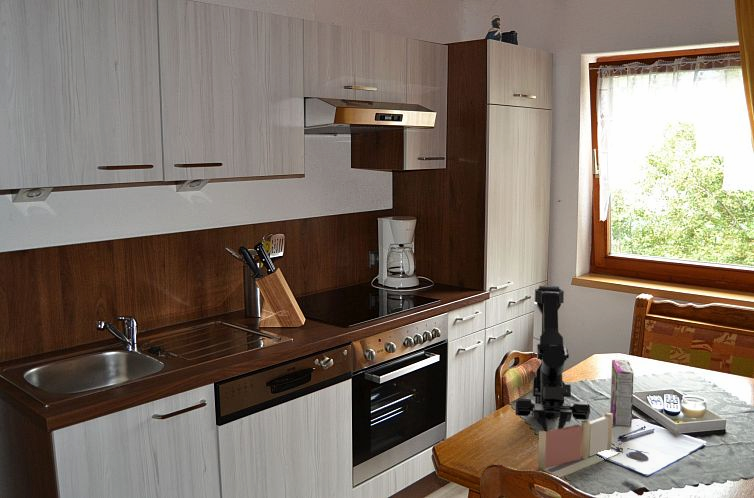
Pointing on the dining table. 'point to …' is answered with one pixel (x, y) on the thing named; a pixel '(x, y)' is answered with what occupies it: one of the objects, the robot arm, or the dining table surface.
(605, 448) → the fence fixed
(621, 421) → the candy bar box
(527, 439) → the dining table surface
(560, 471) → the card
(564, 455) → the panel
